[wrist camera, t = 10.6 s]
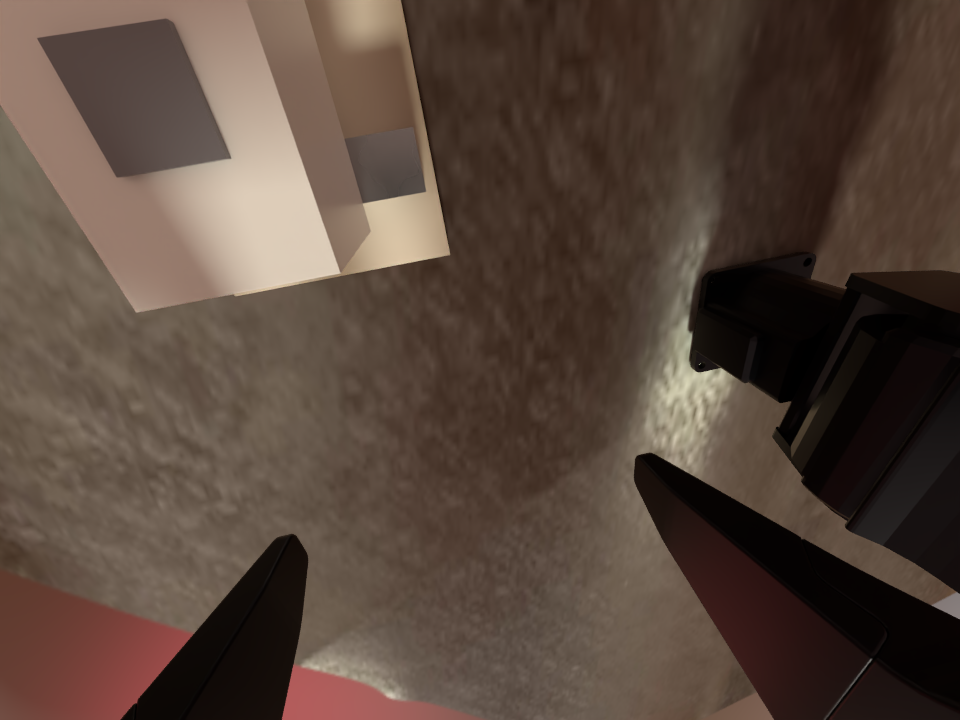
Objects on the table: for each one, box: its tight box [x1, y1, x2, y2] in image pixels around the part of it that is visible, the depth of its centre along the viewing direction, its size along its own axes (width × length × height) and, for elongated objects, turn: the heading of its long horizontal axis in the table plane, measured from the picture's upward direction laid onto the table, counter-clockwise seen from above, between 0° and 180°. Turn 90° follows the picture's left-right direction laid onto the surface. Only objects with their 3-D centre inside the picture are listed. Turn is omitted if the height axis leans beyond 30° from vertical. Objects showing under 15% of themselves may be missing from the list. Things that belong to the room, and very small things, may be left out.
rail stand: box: [234, 0, 450, 296], centre depth 12 cm, size 10×18×4 cm, turn 9°
